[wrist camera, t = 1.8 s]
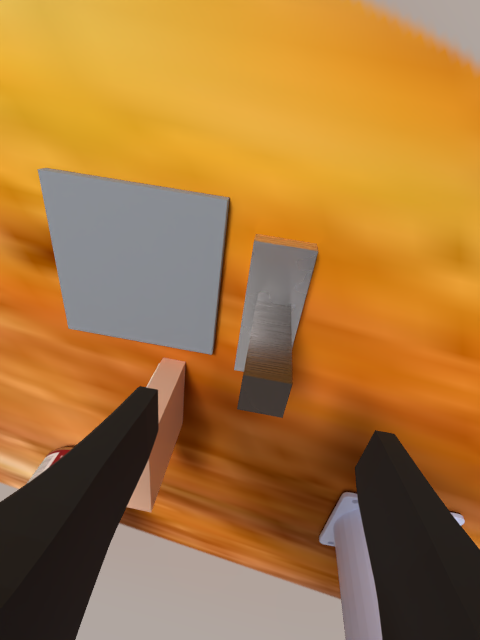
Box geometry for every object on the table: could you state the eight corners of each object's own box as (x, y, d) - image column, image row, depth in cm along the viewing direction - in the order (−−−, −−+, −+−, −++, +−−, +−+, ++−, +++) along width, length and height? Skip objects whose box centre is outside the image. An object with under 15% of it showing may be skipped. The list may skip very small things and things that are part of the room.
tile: (185, 361, 21) (148, 447, 15) (182, 423, 24) (151, 512, 18) (160, 356, 21) (114, 440, 15) (161, 419, 24) (123, 506, 18)
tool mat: (229, 197, 15) (227, 200, 14) (213, 348, 20) (211, 354, 19) (46, 168, 15) (37, 169, 15) (74, 323, 20) (68, 328, 20)
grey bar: (316, 243, 16) (332, 314, 10) (283, 366, 20) (282, 467, 14) (256, 233, 16) (237, 297, 10) (236, 357, 20) (215, 454, 14)
